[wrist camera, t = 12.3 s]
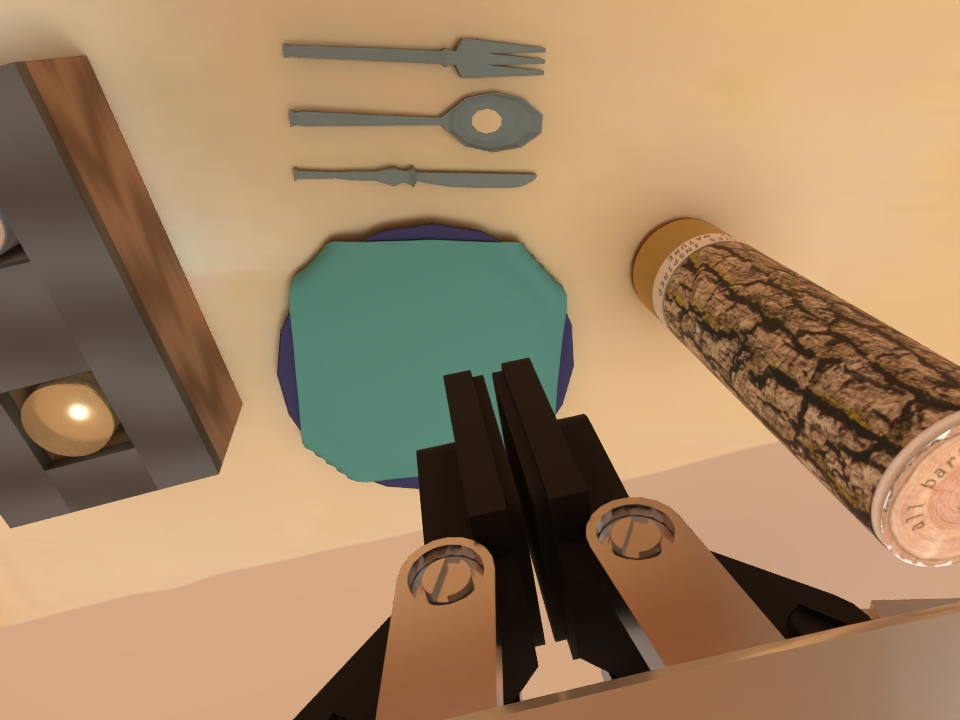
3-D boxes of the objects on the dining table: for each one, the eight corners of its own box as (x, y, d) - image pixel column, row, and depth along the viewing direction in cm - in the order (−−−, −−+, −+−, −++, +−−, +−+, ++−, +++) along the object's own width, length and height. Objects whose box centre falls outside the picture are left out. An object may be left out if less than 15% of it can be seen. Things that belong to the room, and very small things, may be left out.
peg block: (-143, 109, 34) (-277, 130, 27) (86, 55, 35) (13, 62, 28) (67, 448, 44) (10, 528, 37) (242, 404, 45) (218, 474, 38)
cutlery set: (292, 481, 49) (289, 501, 47) (247, 28, 36) (239, 28, 33) (553, 467, 52) (561, 485, 50) (601, 45, 39) (614, 46, 36)
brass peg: (60, 340, 40) (3, 397, 34) (131, 322, 40) (88, 376, 34) (94, 401, 42) (47, 465, 36) (162, 383, 42) (127, 444, 36)
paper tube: (611, 290, 45) (841, 541, 23) (662, 199, 43) (975, 381, 21) (689, 324, 47) (970, 584, 25) (743, 239, 45) (1104, 443, 23)
